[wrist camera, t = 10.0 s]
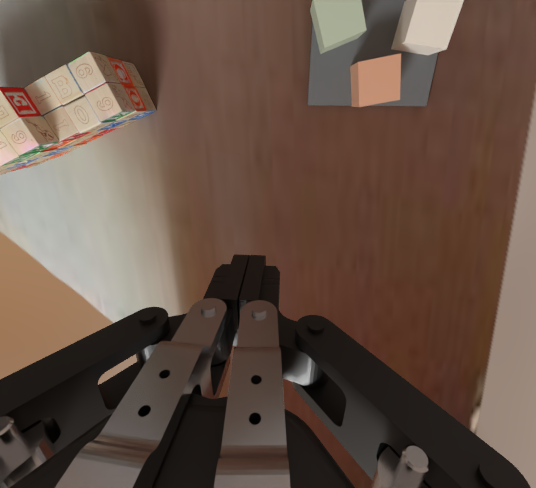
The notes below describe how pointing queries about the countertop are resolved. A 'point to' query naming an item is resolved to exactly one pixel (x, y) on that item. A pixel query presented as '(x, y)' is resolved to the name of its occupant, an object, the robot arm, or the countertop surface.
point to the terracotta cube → (376, 80)
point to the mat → (365, 48)
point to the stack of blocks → (69, 109)
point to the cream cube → (426, 25)
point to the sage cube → (337, 22)
